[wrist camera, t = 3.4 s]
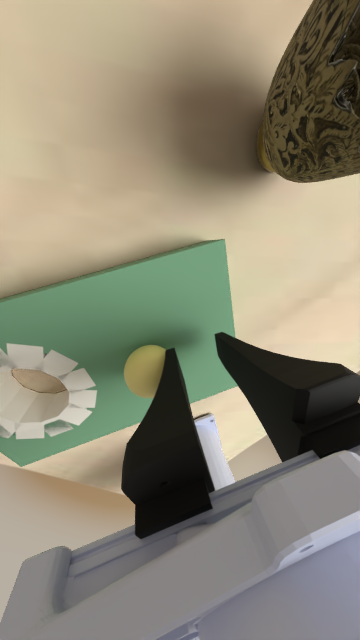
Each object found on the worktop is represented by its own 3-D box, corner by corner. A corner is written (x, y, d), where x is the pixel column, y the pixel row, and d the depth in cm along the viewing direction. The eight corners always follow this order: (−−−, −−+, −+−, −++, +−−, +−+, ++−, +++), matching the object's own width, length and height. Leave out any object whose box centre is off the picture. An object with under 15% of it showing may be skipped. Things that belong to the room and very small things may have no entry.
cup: (217, 197, 13) (320, 132, 5) (240, 44, 10) (522, -522, 3) (297, 211, 14) (454, 177, 7) (336, 86, 11) (664, -182, 4)
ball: (182, 368, 14) (180, 406, 11) (141, 375, 14) (127, 413, 11) (170, 331, 12) (164, 362, 9) (126, 340, 13) (105, 372, 10)
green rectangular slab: (226, 366, 20) (240, 384, 17) (39, 433, 18) (21, 466, 15) (208, 240, 14) (224, 239, 11) (-84, 322, 12) (-150, 345, 9)
